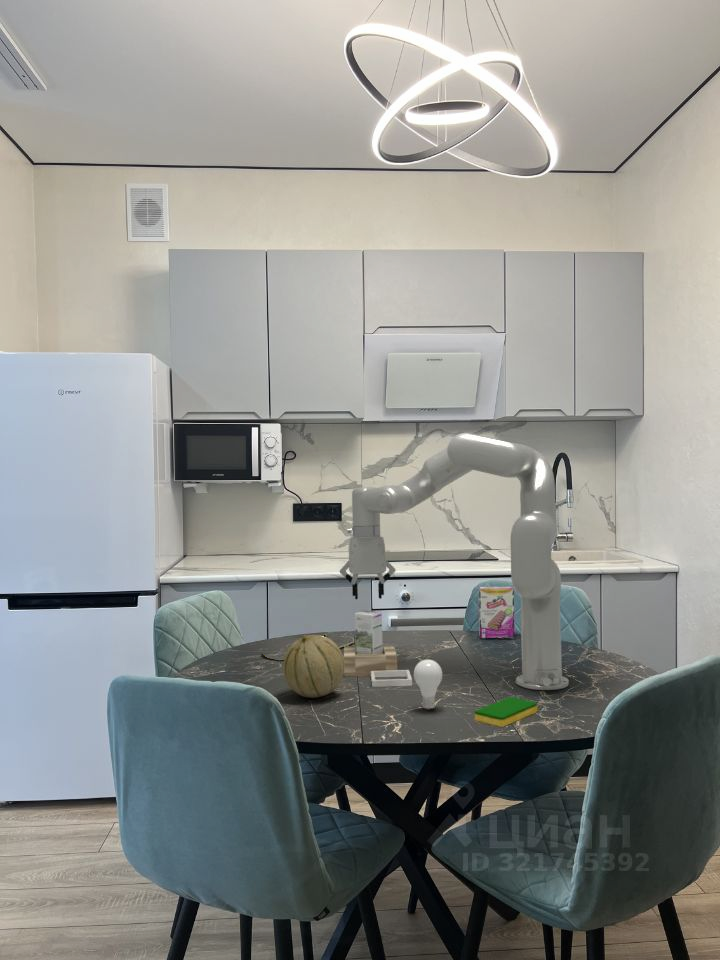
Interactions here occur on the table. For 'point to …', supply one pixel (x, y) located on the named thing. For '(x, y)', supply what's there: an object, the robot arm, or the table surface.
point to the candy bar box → (496, 612)
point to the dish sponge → (505, 711)
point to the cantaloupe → (313, 666)
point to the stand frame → (392, 681)
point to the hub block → (369, 661)
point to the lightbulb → (428, 681)
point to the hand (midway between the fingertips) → (368, 597)
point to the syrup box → (368, 632)
